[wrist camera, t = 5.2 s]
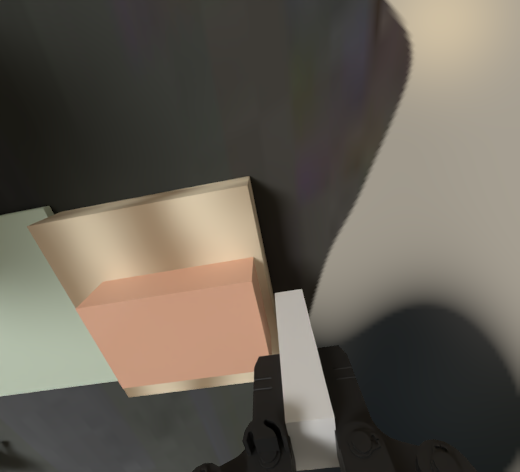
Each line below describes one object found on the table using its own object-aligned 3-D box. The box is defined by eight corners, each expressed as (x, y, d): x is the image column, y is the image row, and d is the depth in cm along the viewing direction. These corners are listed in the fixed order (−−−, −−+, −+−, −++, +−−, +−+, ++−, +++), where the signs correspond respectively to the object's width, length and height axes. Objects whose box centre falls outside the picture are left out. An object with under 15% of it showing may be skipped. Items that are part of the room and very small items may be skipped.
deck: (143, 368, 21) (128, 397, 19) (60, 211, 16) (26, 226, 13) (284, 349, 20) (287, 377, 18) (249, 175, 15) (247, 185, 12)
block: (140, 354, 17) (122, 388, 15) (102, 281, 15) (75, 308, 13) (271, 336, 16) (272, 369, 14) (253, 256, 14) (251, 281, 12)
